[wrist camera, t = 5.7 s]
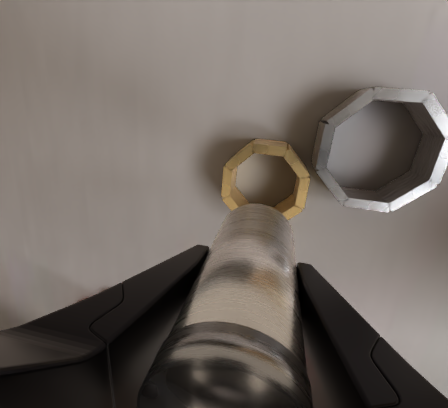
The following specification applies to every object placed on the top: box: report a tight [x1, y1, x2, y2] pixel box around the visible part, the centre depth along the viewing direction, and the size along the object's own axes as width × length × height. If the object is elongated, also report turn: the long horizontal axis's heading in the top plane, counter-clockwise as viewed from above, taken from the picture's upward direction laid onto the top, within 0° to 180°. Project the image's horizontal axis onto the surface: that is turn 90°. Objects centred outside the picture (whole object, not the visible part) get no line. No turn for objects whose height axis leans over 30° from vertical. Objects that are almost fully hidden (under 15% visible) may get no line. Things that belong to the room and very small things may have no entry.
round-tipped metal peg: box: [137, 204, 313, 408], centre depth 8 cm, size 3×3×7 cm
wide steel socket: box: [311, 87, 448, 213], centre depth 17 cm, size 7×7×2 cm
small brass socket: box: [221, 139, 310, 220], centre depth 19 cm, size 6×6×2 cm
